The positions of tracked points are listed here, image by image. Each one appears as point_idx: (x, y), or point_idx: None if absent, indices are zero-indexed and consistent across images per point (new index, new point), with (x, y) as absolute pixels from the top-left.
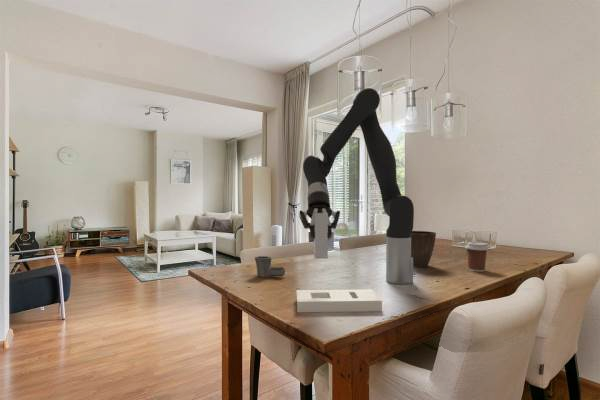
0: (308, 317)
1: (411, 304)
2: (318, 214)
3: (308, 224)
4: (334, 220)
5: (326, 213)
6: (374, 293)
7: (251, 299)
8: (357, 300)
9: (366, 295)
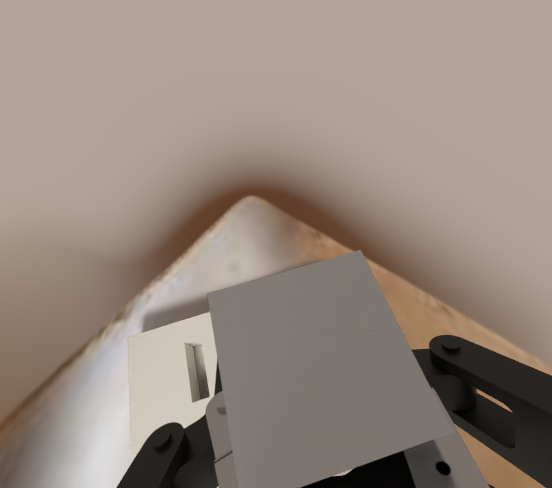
0: (295, 265)
1: (44, 423)
2: (317, 268)
3: (423, 358)
4: (156, 473)
5: (223, 289)
6: (132, 403)
7: (481, 340)
8: (189, 321)
9: (160, 373)
